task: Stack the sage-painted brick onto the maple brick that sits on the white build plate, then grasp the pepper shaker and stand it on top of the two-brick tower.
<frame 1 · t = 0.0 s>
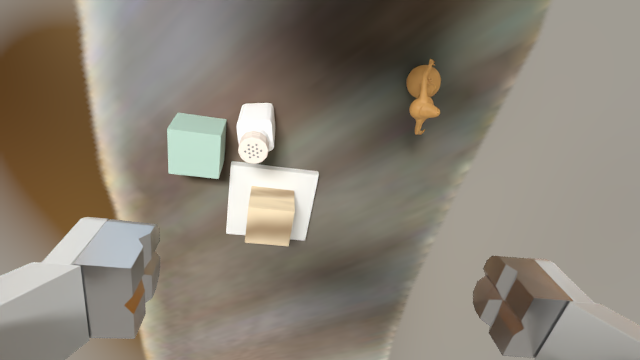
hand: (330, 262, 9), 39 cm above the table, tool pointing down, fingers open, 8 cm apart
sage brick: (202, 136, 49), on the table
build plate: (270, 201, 55), on the table
maple brick: (270, 205, 54), point 1 cm above the table, touching build plate
figurine: (410, 77, 47), on the table
pepper shaker: (259, 115, 48), on the table
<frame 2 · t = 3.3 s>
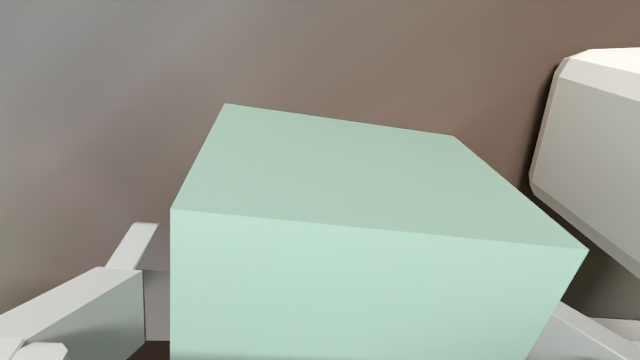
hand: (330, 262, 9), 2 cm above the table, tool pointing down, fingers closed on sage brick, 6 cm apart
sage brick: (324, 219, 11), on the table, touching gripper
pepper shaker: (595, 119, 10), on the table
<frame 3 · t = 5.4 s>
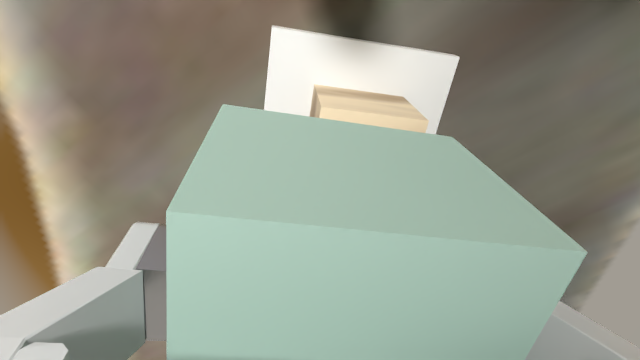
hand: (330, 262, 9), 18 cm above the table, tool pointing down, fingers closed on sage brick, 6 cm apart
sage brick: (322, 220, 11), point 16 cm above the table, touching gripper
build plate: (348, 128, 27), on the table
maple brick: (350, 133, 26), point 1 cm above the table, touching build plate
when the fingers open (9 cm above the table, at t = 7.8 s): sage brick stays where it is, resting on maple brick.
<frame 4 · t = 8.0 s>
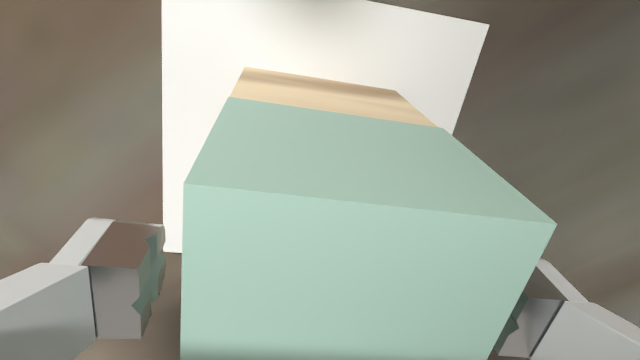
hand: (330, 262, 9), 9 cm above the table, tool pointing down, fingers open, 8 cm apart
sage brick: (321, 207, 12), point 6 cm above the table, touching maple brick
build plate: (308, 141, 17), on the table
maple brick: (310, 149, 16), point 1 cm above the table, touching build plate, sage brick
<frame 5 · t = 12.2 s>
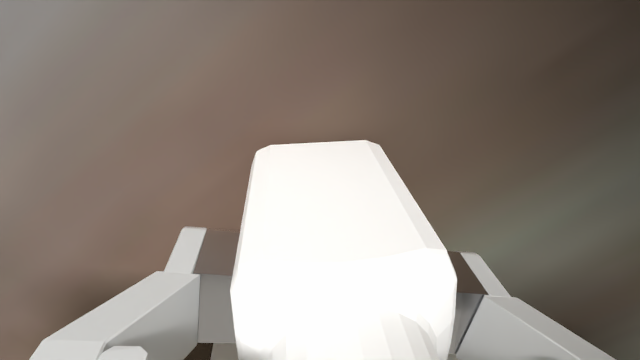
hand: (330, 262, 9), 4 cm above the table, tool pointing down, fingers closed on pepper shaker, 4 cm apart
pepper shaker: (317, 189, 13), on the table, touching gripper
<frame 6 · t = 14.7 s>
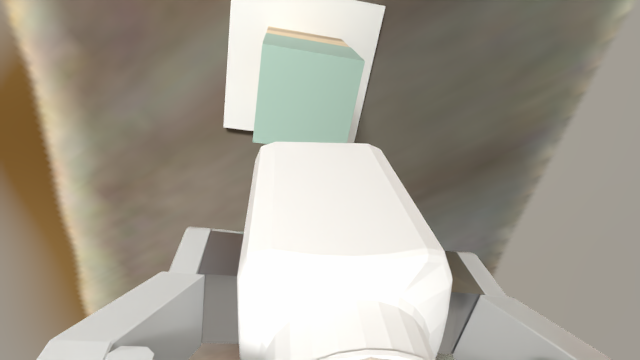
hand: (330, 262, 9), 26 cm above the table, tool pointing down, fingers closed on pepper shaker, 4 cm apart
sage brick: (302, 83, 27), point 6 cm above the table, touching maple brick
build plate: (299, 67, 33), on the table
maple brick: (300, 70, 32), point 1 cm above the table, touching build plate, sage brick
pepper shaker: (316, 188, 13), point 22 cm above the table, touching gripper
when the fingers open (15 cm above the table, at t = 17.5 s): pepper shaker stays where it is, resting on sage brick.
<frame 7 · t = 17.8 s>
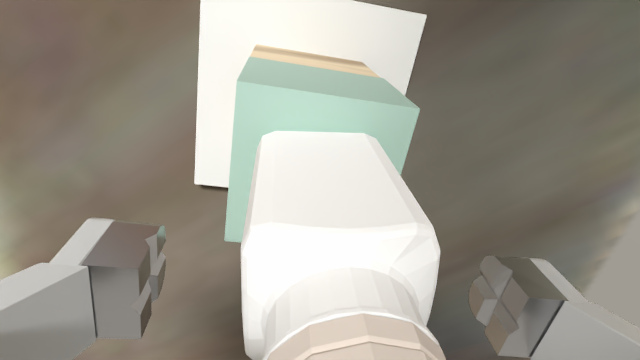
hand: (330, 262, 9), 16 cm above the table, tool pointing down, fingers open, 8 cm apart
sage brick: (307, 132, 18), point 6 cm above the table, touching maple brick, pepper shaker
build plate: (301, 101, 23), on the table
maple brick: (302, 105, 22), point 1 cm above the table, touching build plate, sage brick
pepper shaker: (315, 177, 14), point 11 cm above the table, touching sage brick
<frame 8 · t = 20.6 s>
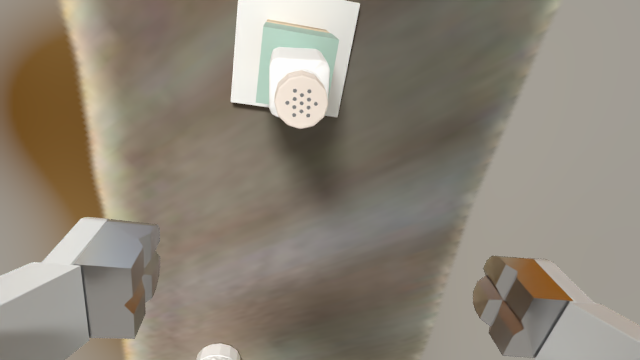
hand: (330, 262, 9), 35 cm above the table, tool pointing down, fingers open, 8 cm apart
sage brick: (294, 61, 35), point 6 cm above the table, touching maple brick, pepper shaker
build plate: (292, 53, 40), on the table
white cup: (219, 356, 60), on the table
pepper shaker: (295, 72, 31), point 11 cm above the table, touching sage brick
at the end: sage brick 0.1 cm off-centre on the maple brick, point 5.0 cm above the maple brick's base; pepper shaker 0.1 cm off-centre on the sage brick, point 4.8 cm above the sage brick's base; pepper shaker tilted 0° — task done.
